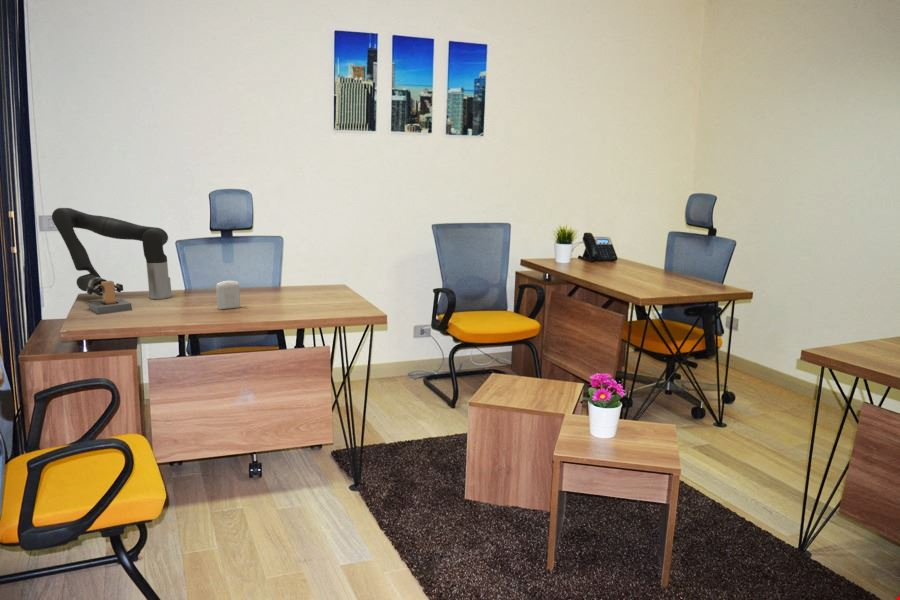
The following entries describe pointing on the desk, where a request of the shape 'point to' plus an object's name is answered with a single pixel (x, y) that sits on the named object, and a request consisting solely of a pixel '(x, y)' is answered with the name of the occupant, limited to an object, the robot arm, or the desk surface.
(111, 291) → the bracket post
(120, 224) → the robot arm
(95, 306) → the well stand
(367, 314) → the desk surface
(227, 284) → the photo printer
